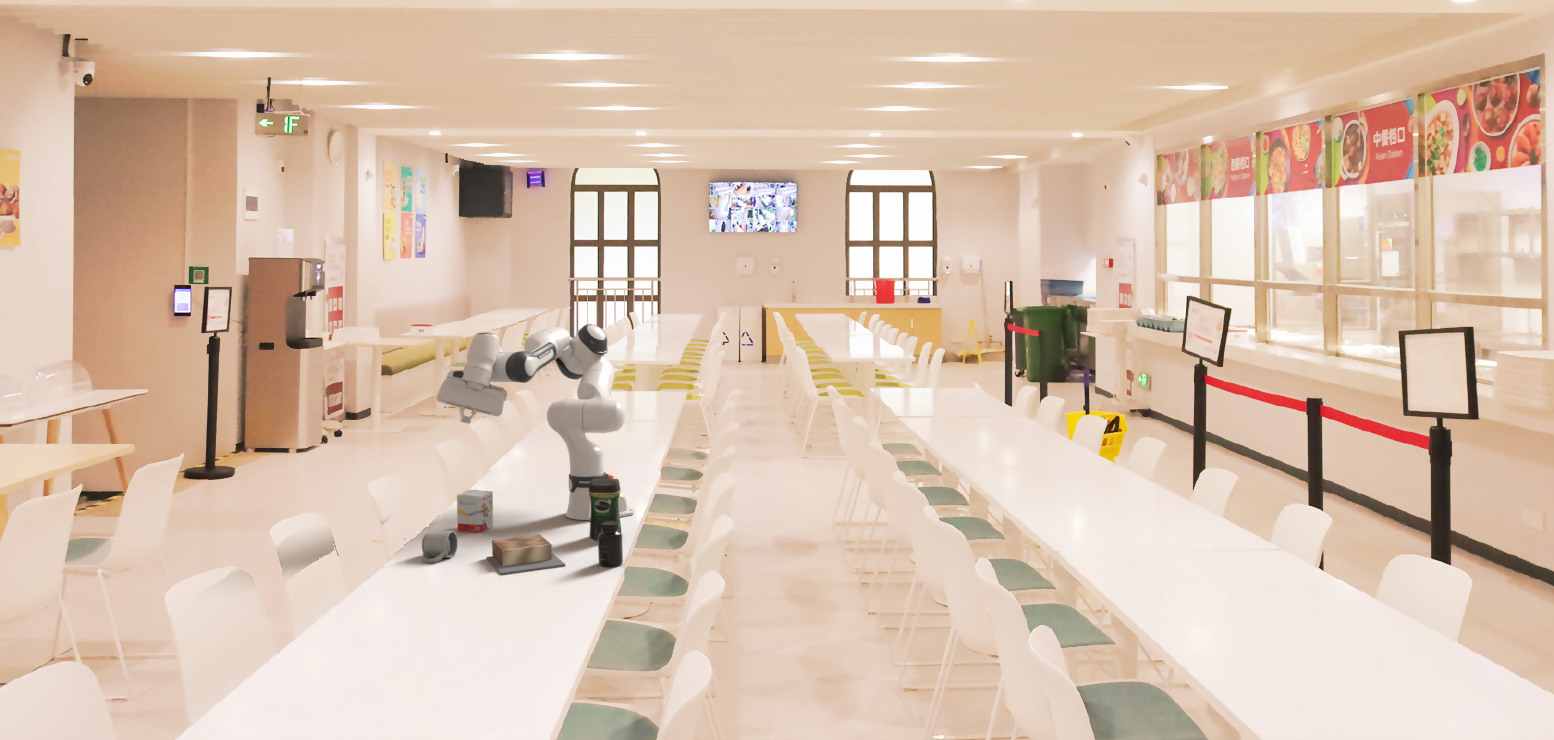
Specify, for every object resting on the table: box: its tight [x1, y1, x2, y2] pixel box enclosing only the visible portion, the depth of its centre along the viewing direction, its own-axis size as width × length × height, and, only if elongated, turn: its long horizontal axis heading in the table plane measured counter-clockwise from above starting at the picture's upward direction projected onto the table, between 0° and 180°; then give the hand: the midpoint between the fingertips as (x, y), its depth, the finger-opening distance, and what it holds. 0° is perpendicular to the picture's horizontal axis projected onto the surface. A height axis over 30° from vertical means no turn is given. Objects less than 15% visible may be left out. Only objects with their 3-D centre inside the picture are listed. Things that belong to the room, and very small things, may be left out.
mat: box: [486, 552, 566, 576], centre depth 308 cm, size 18×17×1 cm
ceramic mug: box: [421, 530, 458, 564], centre depth 312 cm, size 11×8×8 cm
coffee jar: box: [589, 478, 622, 541], centre depth 334 cm, size 10×8×19 cm
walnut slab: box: [491, 534, 553, 566], centre depth 311 cm, size 14×4×12 cm
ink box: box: [456, 489, 494, 534], centre depth 344 cm, size 9×9×12 cm
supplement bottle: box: [597, 521, 624, 568], centre depth 307 cm, size 7×7×12 cm
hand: (465, 422), depth 334 cm, fingers closed
